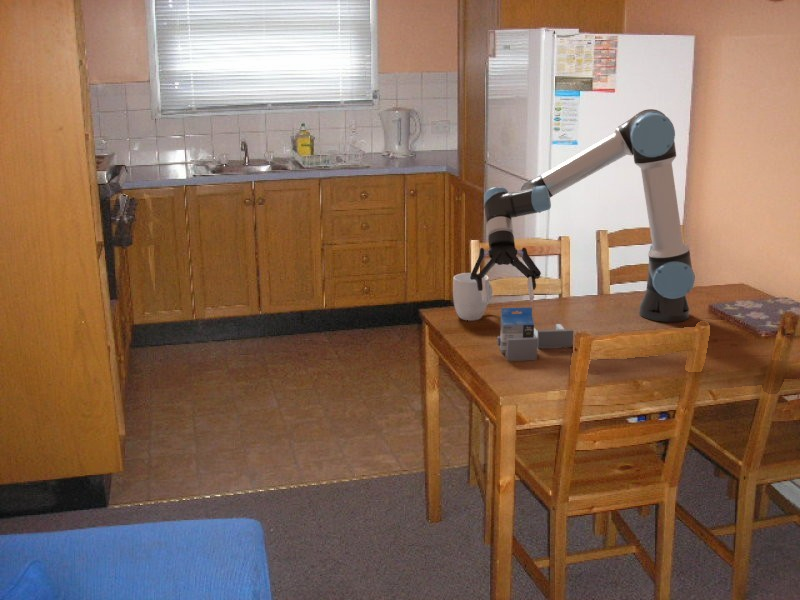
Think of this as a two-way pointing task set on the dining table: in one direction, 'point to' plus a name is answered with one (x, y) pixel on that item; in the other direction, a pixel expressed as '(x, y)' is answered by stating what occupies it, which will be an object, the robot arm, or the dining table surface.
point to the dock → (554, 337)
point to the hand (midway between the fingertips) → (508, 299)
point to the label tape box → (515, 325)
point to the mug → (470, 297)
